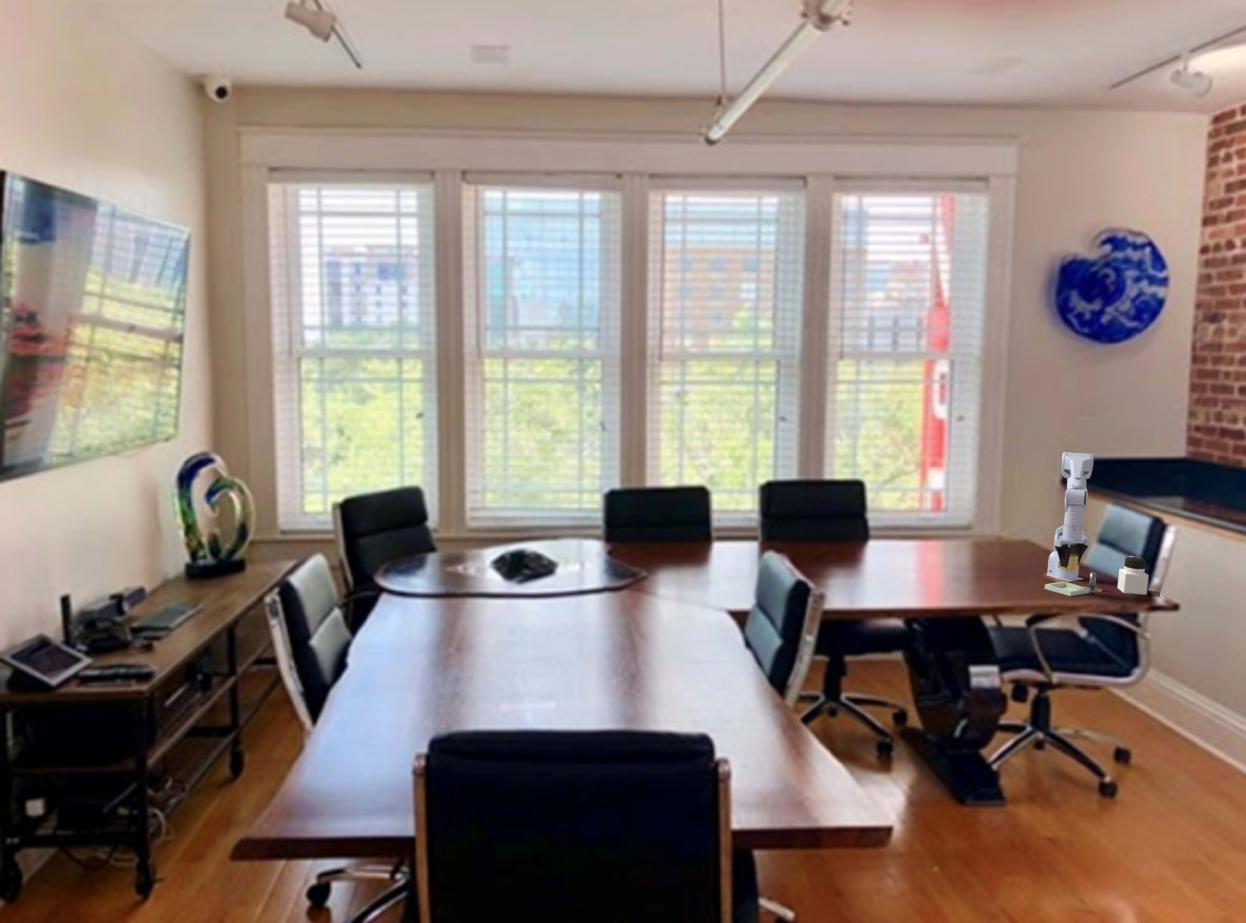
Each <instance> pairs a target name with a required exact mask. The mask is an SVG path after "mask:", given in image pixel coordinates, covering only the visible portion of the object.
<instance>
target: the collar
mask: <svg viewBox="0 0 1246 923" xmlns="http://www.w3.org/2000/svg"><path fill="white" fill-rule="evenodd" d="M1077 566H1078V555H1076V554H1070V557H1069V563H1068V566H1067V568H1065V567H1061V566H1060V562H1058V568H1060V570H1063V571H1071V572H1074V571H1077Z"/></svg>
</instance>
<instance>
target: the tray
mask: <svg viewBox="0 0 1246 923" xmlns="http://www.w3.org/2000/svg"><path fill="white" fill-rule="evenodd" d="M1044 589H1045V590H1048V591H1050V592H1055V593H1058V594H1062V595H1065V596H1068V597H1073V596H1074V597H1075V596H1079V595H1080V596H1081V595H1085V594H1090V592H1091V591H1090V589H1089V588H1085V586H1081V585H1077V584H1075V583H1070V582H1068V581H1059V582H1053V583H1046V584H1044Z"/></svg>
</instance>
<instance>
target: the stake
mask: <svg viewBox="0 0 1246 923" xmlns="http://www.w3.org/2000/svg"><path fill="white" fill-rule="evenodd" d="M1096 580H1097V573H1096V572H1090V575H1089V583H1088V586H1084V587H1085V588H1089V589H1090V592H1094V593H1096V592H1097V593H1100V592H1103V589H1102V588H1099V587H1096Z"/></svg>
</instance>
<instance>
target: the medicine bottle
mask: <svg viewBox="0 0 1246 923" xmlns="http://www.w3.org/2000/svg"><path fill="white" fill-rule="evenodd" d="M1146 562H1147V561H1146V559H1144V558H1143V557H1140V556H1134V555H1131V556H1130V555H1129V556H1126V557H1125V558H1124V565H1123V568H1119V571H1118V577H1117V578H1118V579H1117V589H1118V590H1119V591H1121V592H1122V593H1123V594H1131V595H1132V594H1133V595H1144V596H1145V595H1146V596H1147V595H1148V587H1149V577H1150V575H1149V574H1147V573H1146V572H1145V570H1146Z"/></svg>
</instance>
